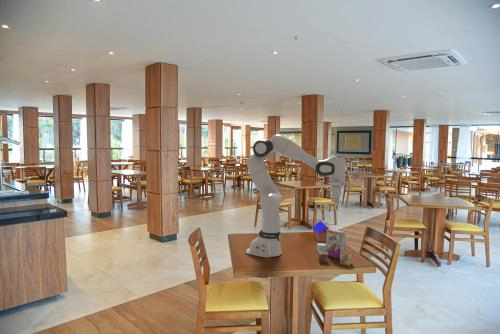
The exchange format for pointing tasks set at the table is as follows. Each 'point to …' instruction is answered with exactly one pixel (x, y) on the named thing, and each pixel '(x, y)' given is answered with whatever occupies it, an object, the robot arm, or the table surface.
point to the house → (320, 231)
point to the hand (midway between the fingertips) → (336, 204)
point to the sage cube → (321, 247)
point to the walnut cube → (323, 257)
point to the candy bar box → (335, 243)
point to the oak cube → (345, 259)
